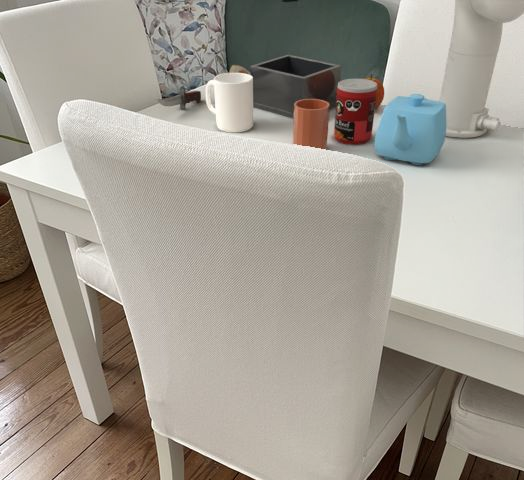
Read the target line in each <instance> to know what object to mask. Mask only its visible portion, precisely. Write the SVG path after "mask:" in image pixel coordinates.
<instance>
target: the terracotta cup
mask: <svg viewBox="0 0 524 480" xmlns="http://www.w3.org/2000/svg"><path fill="white" fill-rule="evenodd" d="M329 107H330V105H329V103H328V102H326V101H323V100H319V99H303V100H299V101H296V102H295V103H294V118H293V123H292V124H293V125H292V128H293V129H292V145H293V144H297V145H302V146H310V147H315V148H321V149H326V150H327V148H328V137H329V135H328V134H329V120H330V109H329Z"/></svg>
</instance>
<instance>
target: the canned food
mask: <svg viewBox="0 0 524 480" xmlns="http://www.w3.org/2000/svg"><path fill="white" fill-rule="evenodd" d="M376 96H377V83H376V82H374V81H371V80H367V79H365V78H345V79H343V80H340V82H339V83H338V87H337V99H336V107H335V115H334V127H333V135H334V139H335V141H336V142H338V143H340V144H344V145H355V146H356V145H364V144H366V143H369V142H370V140H371V138H372V135H373V127H374V119H375V111H376V109H375V104H376Z"/></svg>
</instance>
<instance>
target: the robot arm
mask: <svg viewBox="0 0 524 480" xmlns="http://www.w3.org/2000/svg"><path fill="white" fill-rule="evenodd" d="M281 2H283V3H293V2H299V0H281ZM523 14H524V0H454V15H453V25H452V32H451V37H450V43H449V48H448V53H447V58H446V64H445V69H444V70H445V71H444V75H443V80H442V86H441V91H440V96H439V100H438V101H439V102H443V103H445V105H446V122H447V123H446V136H445V137H450V138H459V139H462V138H463V139H467V138H469V139H470V138H471V139H472V138H476V137H481V136H483V135H485V134H486V133H487V131H488V130H492V131H494V132H495V131H496V132H497V131H498V130H499V128H500V126H501V121H500V118H499V117H495V116H490V115H489V111H490V108H487V107H486V103H487V100H488V95H489V91H490V88H491V83H492V78H493V75H494V70H495V65H496V61H497V57H498V53H499V50H500V46H501V42H502V35H503V26H504V25H503V24H507V23H511V22H513V21H515V20H517V19H519V18H520V17H521V16H522V15H523Z"/></svg>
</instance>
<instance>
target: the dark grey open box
mask: <svg viewBox="0 0 524 480" xmlns="http://www.w3.org/2000/svg"><path fill="white" fill-rule="evenodd" d="M249 72H250V75H251V76H252V77H253V108H256V109H259V110H262V111H267V112H271V113H274V114H277V115H281V116H284V117H289V118H291V119H294V103H295V102H296V101H299V100H303V99H319V100H323V101H326V102H328V103H329V105H330V107H329V110H332V109H334V108H336V99H337V87H338V83H339V82H340V81H341V79H342V78H341V76H342V65H340V64H336V63H331V62H326V61H321V60H316V59H311V58H307V57H302V56H297V55H292V54H285V55H282V56H279V57H275V58H273V59H270V60H266V61H262V62H259V63H256V64H253V65H250V66H249Z"/></svg>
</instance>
